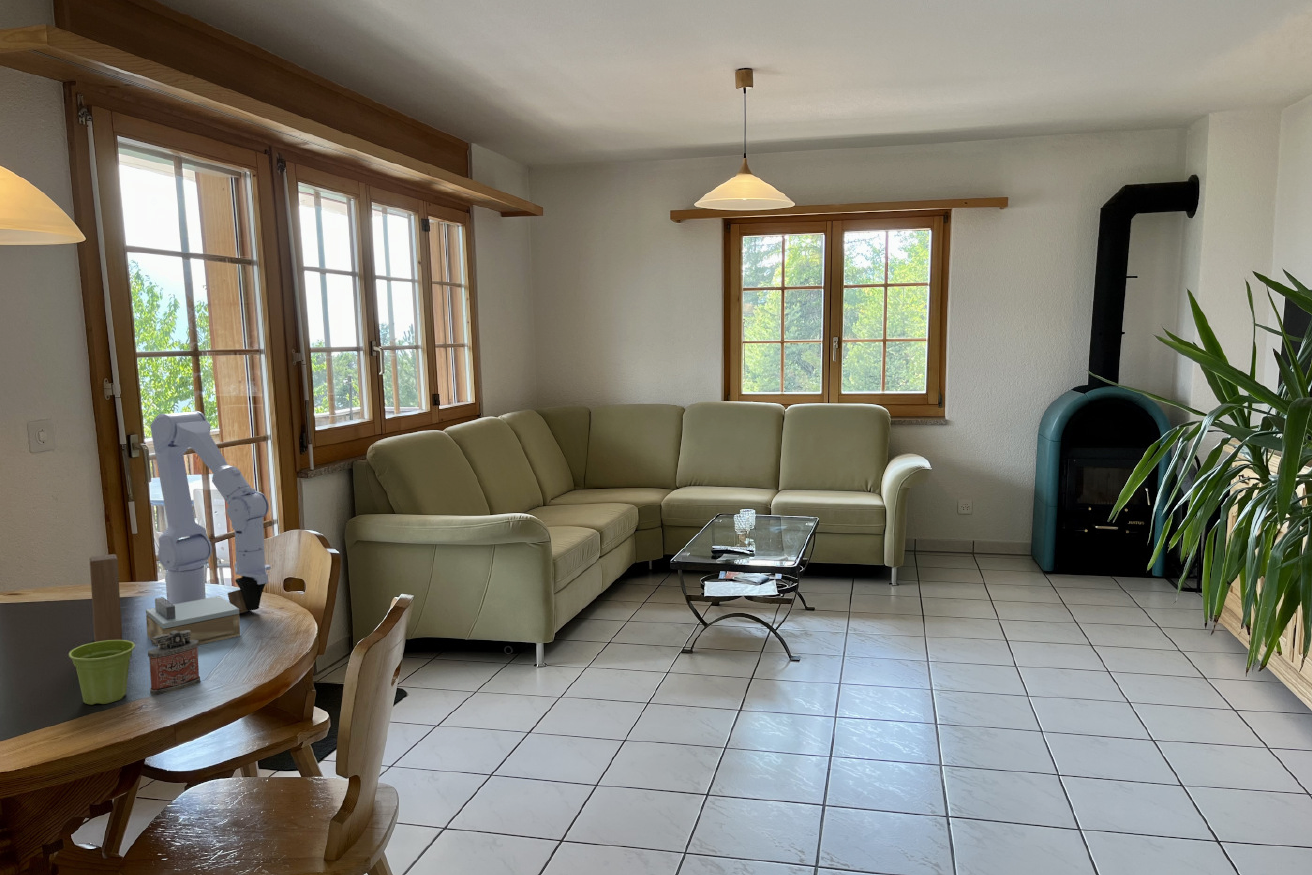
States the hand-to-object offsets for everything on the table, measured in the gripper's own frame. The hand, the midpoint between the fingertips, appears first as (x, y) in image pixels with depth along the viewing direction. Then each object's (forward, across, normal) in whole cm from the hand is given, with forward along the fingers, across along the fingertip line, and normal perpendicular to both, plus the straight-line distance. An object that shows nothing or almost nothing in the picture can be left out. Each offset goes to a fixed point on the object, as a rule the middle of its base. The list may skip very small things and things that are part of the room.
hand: (252, 609), depth 191 cm
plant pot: (+2, -28, +34) cm, 44 cm away
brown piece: (+2, -5, +14) cm, 15 cm away
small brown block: (+1, +2, +1) cm, 2 cm away
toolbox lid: (-3, -5, +13) cm, 15 cm away
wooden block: (+2, +2, +27) cm, 27 cm away
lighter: (+2, -31, +24) cm, 40 cm away
